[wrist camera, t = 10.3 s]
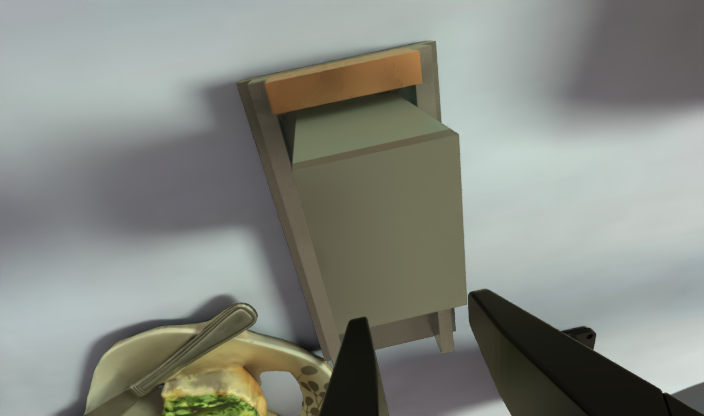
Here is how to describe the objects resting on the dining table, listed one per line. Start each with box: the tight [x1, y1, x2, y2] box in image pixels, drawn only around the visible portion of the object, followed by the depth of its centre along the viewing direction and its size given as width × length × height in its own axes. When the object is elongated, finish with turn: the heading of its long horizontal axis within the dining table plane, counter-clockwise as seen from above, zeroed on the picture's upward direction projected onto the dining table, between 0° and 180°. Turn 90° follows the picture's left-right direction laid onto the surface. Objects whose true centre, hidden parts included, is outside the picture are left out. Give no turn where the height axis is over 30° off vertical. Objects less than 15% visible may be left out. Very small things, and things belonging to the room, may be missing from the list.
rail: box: [236, 41, 456, 366], centre depth 19 cm, size 18×9×4 cm, turn 10°
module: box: [292, 91, 467, 335], centre depth 14 cm, size 6×4×8 cm
